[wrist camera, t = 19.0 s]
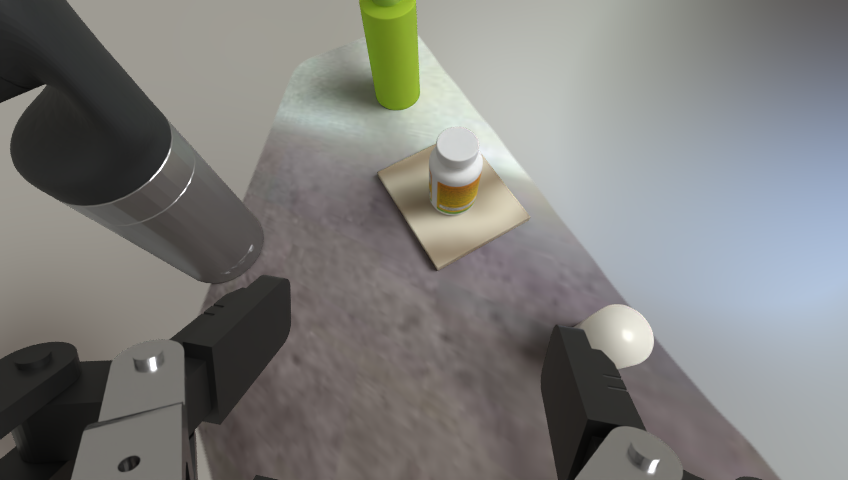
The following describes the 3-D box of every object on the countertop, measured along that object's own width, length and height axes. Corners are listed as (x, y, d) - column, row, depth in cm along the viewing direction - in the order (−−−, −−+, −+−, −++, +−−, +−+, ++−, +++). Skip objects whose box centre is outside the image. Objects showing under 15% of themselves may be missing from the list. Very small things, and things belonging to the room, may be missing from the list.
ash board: (378, 175, 48) (377, 172, 47) (462, 134, 50) (463, 130, 49) (437, 270, 43) (437, 268, 42) (528, 220, 45) (530, 217, 44)
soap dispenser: (388, 67, 55) (366, -107, 37) (428, 89, 53) (425, -82, 35) (361, 93, 53) (323, -75, 35) (401, 117, 52) (383, -48, 33)
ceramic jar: (556, 350, 39) (579, 337, 33) (582, 312, 41) (610, 292, 34) (601, 385, 38) (635, 378, 32) (627, 344, 39) (664, 330, 33)
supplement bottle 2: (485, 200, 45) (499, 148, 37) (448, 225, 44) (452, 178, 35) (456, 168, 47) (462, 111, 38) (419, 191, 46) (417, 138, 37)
